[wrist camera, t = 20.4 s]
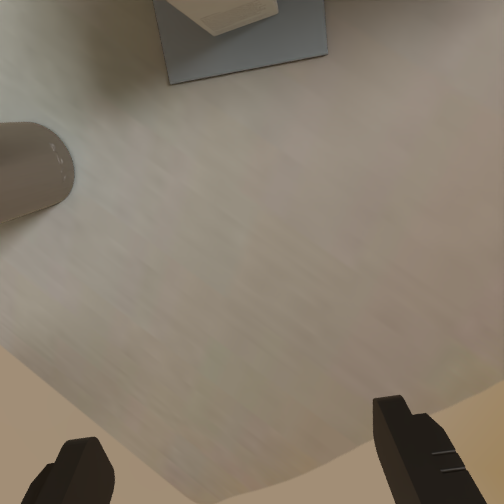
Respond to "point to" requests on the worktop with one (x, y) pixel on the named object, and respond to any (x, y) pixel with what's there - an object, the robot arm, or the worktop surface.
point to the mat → (240, 41)
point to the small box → (225, 12)
